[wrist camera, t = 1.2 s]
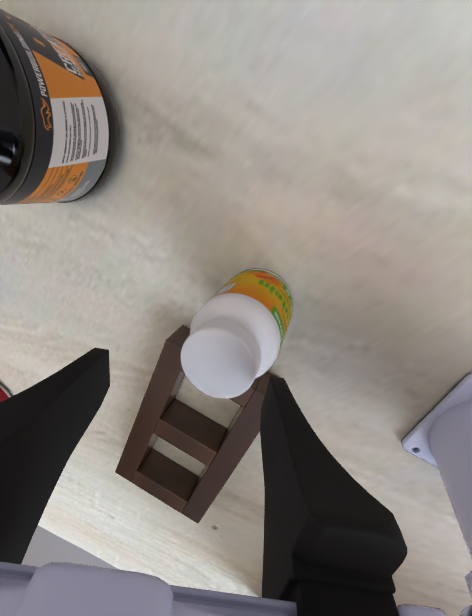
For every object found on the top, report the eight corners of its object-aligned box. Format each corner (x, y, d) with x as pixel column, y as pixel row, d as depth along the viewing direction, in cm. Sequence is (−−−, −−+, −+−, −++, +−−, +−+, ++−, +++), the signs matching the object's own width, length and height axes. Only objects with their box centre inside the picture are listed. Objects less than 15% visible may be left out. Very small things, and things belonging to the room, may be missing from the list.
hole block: (284, 380, 26) (278, 403, 23) (208, 497, 34) (198, 524, 31) (182, 324, 27) (165, 339, 24) (131, 450, 34) (114, 472, 32)
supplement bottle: (308, 311, 23) (293, 385, 15) (252, 344, 26) (211, 425, 17) (265, 252, 23) (223, 292, 14) (212, 292, 25) (147, 347, 16)
